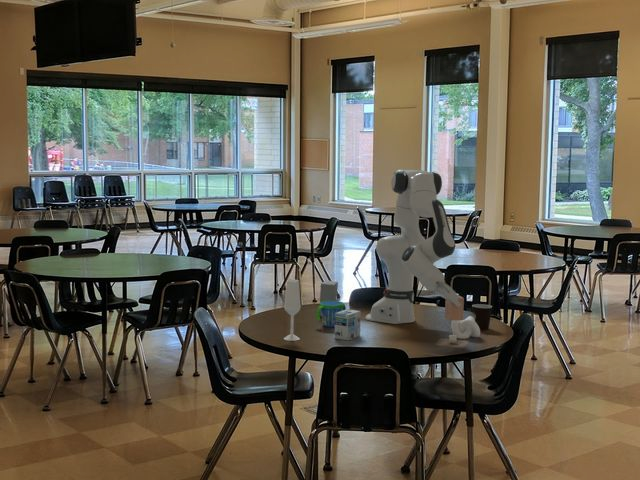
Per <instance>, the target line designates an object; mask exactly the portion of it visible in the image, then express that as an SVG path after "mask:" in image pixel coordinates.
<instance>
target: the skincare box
mask: <svg viewBox="0 0 640 480" xmlns="http://www.w3.org/2000/svg"><path fill="white" fill-rule="evenodd" d="M338 284H339V282H338V281H336V280H335V281H334V280H324V281H323V282H321V283H320V293H319V294H320V295H319V303H320V302H323V301H338V288H339V287H338V286H339V285H338ZM320 318H322V316H321V310H320Z"/></svg>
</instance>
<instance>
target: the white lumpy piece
mask: <svg viewBox="0 0 640 480" xmlns="http://www.w3.org/2000/svg"><path fill="white" fill-rule="evenodd" d="M450 328H451V332H452V335H457V339H462V340H463V339H469V338H479V337H480V334H481V330H480V328H479V326H478V325H477V323H476V322H475V319H474V318H473V315H472V316H471V315H469V316H467V317H466V318H463V320H457V321H451V323H450Z"/></svg>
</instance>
